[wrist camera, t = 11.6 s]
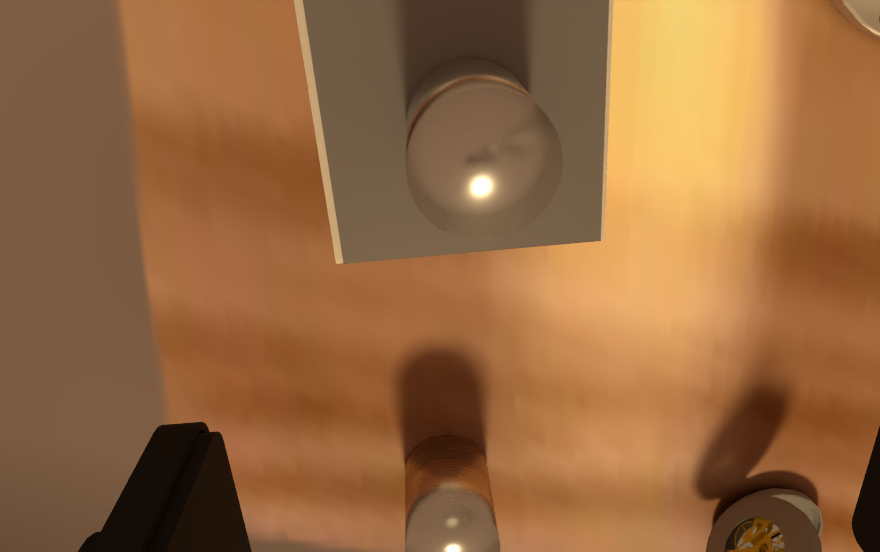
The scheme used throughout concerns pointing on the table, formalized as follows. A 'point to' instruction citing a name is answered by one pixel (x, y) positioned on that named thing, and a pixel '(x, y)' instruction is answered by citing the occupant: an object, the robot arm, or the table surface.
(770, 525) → the pocket watch
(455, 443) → the cylinder
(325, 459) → the table surface
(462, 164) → the cylinder
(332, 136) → the scale
